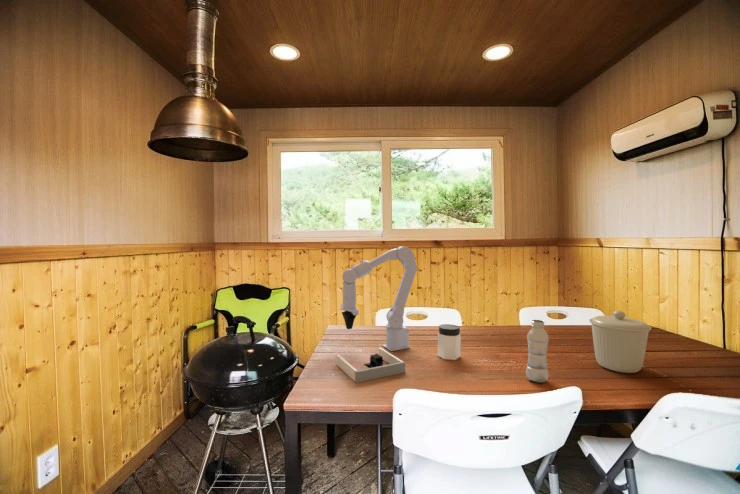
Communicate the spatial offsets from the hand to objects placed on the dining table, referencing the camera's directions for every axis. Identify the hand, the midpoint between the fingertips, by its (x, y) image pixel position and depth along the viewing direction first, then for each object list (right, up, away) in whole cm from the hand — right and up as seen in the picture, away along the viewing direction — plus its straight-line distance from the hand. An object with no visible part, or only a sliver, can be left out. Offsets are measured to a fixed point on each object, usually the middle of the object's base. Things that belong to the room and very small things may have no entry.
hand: (349, 328), depth 142 cm
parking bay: (+9, -9, -21) cm, 25 cm away
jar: (+41, -9, -9) cm, 43 cm away
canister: (+100, -10, -21) cm, 103 cm away
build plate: (+11, -10, -20) cm, 25 cm away
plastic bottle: (+65, -10, -32) cm, 73 cm away
